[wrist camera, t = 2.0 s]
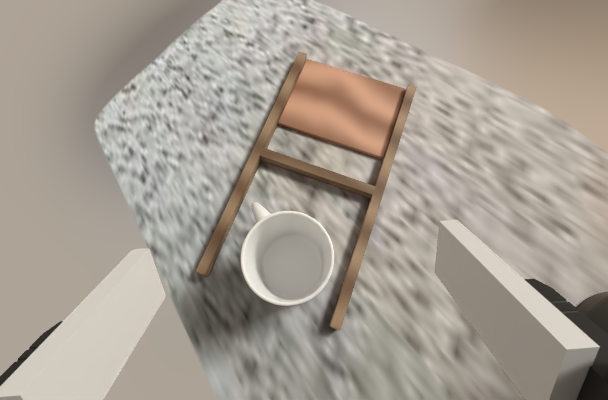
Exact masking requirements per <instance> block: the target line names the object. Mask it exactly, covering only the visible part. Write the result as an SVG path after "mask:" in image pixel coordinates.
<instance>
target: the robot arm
mask: <svg viewBox="0 0 608 400" xmlns="http://www.w3.org/2000/svg"><path fill="white" fill-rule="evenodd" d="M435 273H436V275H437V276H438V278H439V279H440V280H441V282H442V283H443V285H444V286H445V287H446V289H447V290H448V292H449V293H450V295H451V296H452V297H453V299H454V300H455V302H456V303H457V304H458V306H459V307H460V309H461V310H462V312H463V313H464V314H465V316H466V317H467V319H468V320H469V321H470V323H471V324H472V326H473V327H474V329H475V330H476V331H477V333H478V334H479V336H480V337H481V338H482V340H483V341H484V343H485V344H486V346H487V347H488V348H489V350H490V351H491V353H492V354H493V355H494V357H495V358H496V360H497V361H498V363H499V364H500V365H501V367H502V368H503V370H504V371H505V372H506V374H507V375H508V377H509V378H510V380H511V381H512V382H513V384H514V385H515V387H516V388H517V389H518V391H519V392H520V394H521V395H522V397H523V398H524V399H525V400H608V292H603V293H599V294H596V295H594V296H592V297H590V298H588V299H587V300H585V301H584V302H583V303H582V304H581V305H580V306H579V307H578V308H576V307H574V306H573V305H572V304H571V303H570V302H567V301H566V299H565V298H564V297H562V296H561V295H560V294H559V293H557V292H556V291H555V290H554V289H553V288H551V287H549V286H547V285H545V284H543V283H541V282H539V281H538V280H536V279H525V280H524V279H523V278H522V277H521V276H520V275H519V274H517V273H516V272H515V271H514V270H513V269H512V268H511V267H510V266H508V265H507V264H506V263H505V262H504V261H503V260H502V259H501V258H499V257H498V256H497V255H496V254H495V253H494V252H493V251H492V250H490V249H489V248H488V247H487V246H486V245H485V244H484V243H483V242H481V241H480V240H479V239H478V238H477V237H476V236H475V235H474V234H472V233H471V232H470V231H469V230H468V229H467V228H466V227H465V226H463V225H462V224H461V223H460V222H459V221H458V220H448V221H440V222H439V233H438V243H437V253H436V264H435ZM165 297H166V295H165V292H164V290H163V287H162V284H161V281H160V278H159V275H158V272H157V270H156V267H155V264H154V261H153V258H152V255H151V252H150V250H149V248H145V249H135V250H132V251H131V252H130V253H129V254H128V255H127V256H126V257H125V258H124V259H123V260H122V261H121V262H120V263H119V264H118V265H117V266H116V267H115V268H114V269H113V270H112V271H111V272H110V273H109V274H108V275H107V276H106V278H105V279H104V280H103V281H102V282H101V283H100V284H99V285H98V286H97V287H96V288H95V289H94V290H93V291H92V292H91V293H90V294H89V295H88V296H87V297H86V298H85V299H84V300H83V301H82V302H81V303H80V305H79V306H78V307H77V308H76V309H75V310H74V311H73V312H72V313H71V314H70V315H69V316H68V317H67V318H66V319H65V320H64V321H61V322H59V323H58V324H56V325H55V326H53V327H52V328H51V329H49V330H48V331H46V332H45V333H43V334H42V335H41V336H40V337H39V338H38V339H37V340H36V341H35V342H34V343H33V344H32V346H30V348H29V350H26V351H25V352H24V353H23V354H22V355H21V356H20V357H19V358H18V361H17V362H14V363H13V364H12V365H11V366H10V367H9V368H8V369H7V370H6V371H5V372H4V373H3V374H2V375H1V376H0V400H103V399H104V397H105V396H106V394H107V392H108V391H109V389H110V388H111V386H112V384H113V383H114V381H115V379H116V378H117V376H118V374H119V373H120V371H121V369H122V368H123V366H124V364H125V363H126V361H127V359H128V358H129V356H130V355H131V353H132V351H133V349H134V348H135V346H136V345H137V343H138V341H139V340H140V338H141V336H142V335H143V333H144V331H145V330H146V328H147V326H148V325H149V323H150V322H151V320H152V318H153V317H154V315H155V313H156V312H157V310H158V308H159V307H160V305H161V303H162V302H163V300H164V298H165Z"/></svg>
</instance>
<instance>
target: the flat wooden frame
mask: <svg viewBox="0 0 608 400" xmlns="http://www.w3.org/2000/svg"><path fill="white" fill-rule="evenodd" d="M415 90H416V87H415V86H411V85H408V87H407V89H406V91H405V89H404V88H401V87H398V86H394V85H391V84H388V83H384V82H381V81H378V80H374V79H371V78H368V77H364V76H361V75H358V74H355V73H351V72H348V71H345V70H341V69H338V68H335V67H331V66H328V65H325V64H321V63H318V62H315V61H312V60H308V59H307V60H306V54H305V53H301V52H299V53H298V55H297V57H296V59H295V61H294V64H293V66H292V68H291V70H290V72H289V74H288V76H287V78H286V81H285V83H284V85H283V87H282V89H281V91H280V93H279V95H278V98H277V100H276V102H275V104H274V106H273V108H272V110H271V112H270V115H269V117H268V119H267V121H266V123H265V125H264V127H263V129H262V131H261V134H260V136H259V138H258V140H257V142H256V144H255V146H254V148H253V151H252V153H251V155H250V157H249V159H248V161H247V163H246V165H245V168H244V170H243V172H242V174H241V176H240V178H239V180H238V182H237V185H236V187H235V189H234V191H233V193H232V195H231V197H230V199H229V202H228V204H227V206H226V208H225V210H224V212H223V214H222V216H221V219H220V221H219V223H218V225H217V227H216V229H215V231H214V233H213V235H212V238H211V240H210V242H209V244H208V246H207V248H206V250H205V252H204V255H203V257H202V259H201V261H200V263H199V265H198V267H197V269H196V272H197V273H199V274H202V275H204V276H209V274H210V272H211V270H212V267H213V265H214V263H215V261H216V259H217V256H218V254H219V252H220V250H221V248H222V246H223V243H224V241H225V239H226V237H227V235H228V232H229V230H230V228H231V226H232V224H233V221H234V219H235V217H236V215H237V213H238V210H239V208H240V206H241V204H242V202H243V200H244V197H245V195H246V193H247V191H248V189H249V186H250V184H251V182H252V180H253V178H254V175H255V173H256V171H257V169H258V167H259V164H260V162H261V160H262V161H265V162H268V163H271V164H273V165H276V166H279V167H282V168H285V169H288V170H291V171H294V172H296V173H299V174H302V175H305V176H308V177H311V178H314V179H316V180H319V181H322V182H325V183H328V184H331V185H334V186H337V187H339V188H342V189H345V190H348V191H351V192H354V193H357V194H359V195H362V196H365V197H368V198H370V201H369V204H368V207H367V210H366V213H365V216H364V219H363V222H362V225H361V228H360V231H359V234H358V238H357V241H356V244H355V247H354V250H353V253H352V256H351V259H350V262H349V265H348V268H347V271H346V274H345V277H344V280H343V284H342V287H341V290H340V293H339V296H338V299H337V302H336V305H335V308H334V311H333V314H332V317H331V320H330V323H329V325H330V327H333V328H335V329H338V330H340V329H341V326H342V323H343V320H344V316H345V313H346V310H347V307H348V304H349V301H350V297H351V294H352V291H353V288H354V285H355V281H356V278H357V275H358V272H359V269H360V266H361V262H362V259H363V256H364V253H365V250H366V246H367V243H368V240H369V237H370V234H371V231H372V227H373V224H374V221H375V218H376V215H377V211H378V208H379V205H380V202H381V199H382V196H383V192H384V189H385V186H386V183H387V180H388V176H389V173H390V170H391V167H392V164H393V160H394V157H395V154H396V151H397V148H398V145H399V141H400V138H401V135H402V132H403V129H404V125H405V122H406V119H407V116H408V113H409V110H410V106H411V103H412V100H413V97H414V94H415ZM401 102H402V103H401ZM400 105H401V106H400ZM399 108H400V109H399ZM398 111H399V112H398ZM397 114H398V115H397ZM396 117H397V118H396ZM395 120H396V121H395ZM394 123H395V124H394ZM277 125H280V126H283V127H286V128H289V129H292V130H296V131H299V132H302V133H305V134H308V135H311V136H314V137H317V138H320V139H323V140H326V141H329V142H332V143H335V144H338V145H341V146H344V147H347V148H350V149H353V150H356V151H359V152H362V153H365V154H368V155H371V156H374V157H377V158H380V159H383V161H382V164H381V167H380V170H379V173H378V176H377V179H376V182H375V185H374V186H373V185H370V184H367V183H364V182H361V181H358V180H355V179H352V178H349V177H347V176H344V175H341V174H338V173H335V172H332V171H329V170H326V169H323V168H320V167H317V166H314V165H312V164H309V163H306V162H303V161H300V160H297V159H294V158H291V157H288V156H285V155H282V154H280V153H277V152H274V151H271V150H268V149H267V147H268V145H269V143H270V140H271V138H272V136H273V134H274V132H275V129H276V127H277ZM393 126H394V127H393ZM392 129H393V130H392ZM391 132H392V133H391ZM390 135H391V136H390ZM389 138H390V139H389ZM386 148H387V149H386ZM385 151H386V152H385ZM384 154H385V155H384ZM383 157H384V158H383Z"/></svg>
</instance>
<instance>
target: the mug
mask: <svg viewBox="0 0 608 400" xmlns="http://www.w3.org/2000/svg"><path fill="white" fill-rule="evenodd" d="M251 207H252V211H253V214H254V217H255V220H256V224H255V225H254V226H253V227H252V229H251V230H250V231H249V233H248V234H247V236H246V238H245V240H244V243H243V246H242V250H241V258H240V259H241V268H242V273H243V276H244V278H245V280H246V282H247V284H248V285H249V287H250V288H251V289H252V291H253V292H254V293H255V294H256V295H258V296H259V297H260V298H262V299H263V300H265V301H267V302H269V303H272V304H276V305H281V306H292V305H297V304H301V303H304V302H306V301H308V300H310V299H312V298H313V297H314V296H316V295H317V294H318V293H319V292H320V291H321V290H322V289H323V288H324V286H325V285H326V284H327V282H328V280H329V278H330V276H331V273H332V270H333V265H334V250H333V245H332V242H331V239H330V237H329V235H328V233H327V232H326V230H325V229H324V228H323V226H322V225H321V224H320V223H319V222H317V221H316V220H315V219H314V218H312V217H310V216H308V215H306V214H303V213H300V212H295V211H281V212H276V213H273V214H270V213H269V212H268V211H267V210H266V209H265V208H264V207H262V206H261V205H260V204H258V203H256V202H254V203H252V205H251Z"/></svg>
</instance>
